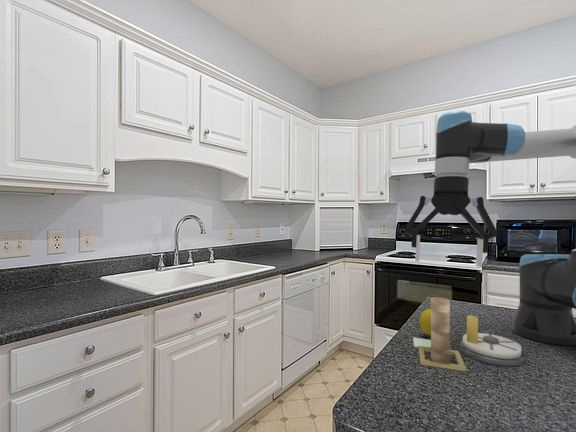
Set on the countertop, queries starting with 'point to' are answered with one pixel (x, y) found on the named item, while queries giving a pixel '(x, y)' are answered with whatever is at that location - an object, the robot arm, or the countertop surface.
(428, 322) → the lemon
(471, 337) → the handwheel
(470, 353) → the wheel base
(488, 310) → the countertop surface
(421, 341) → the coaster
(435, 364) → the square gold frame
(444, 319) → the dowel
